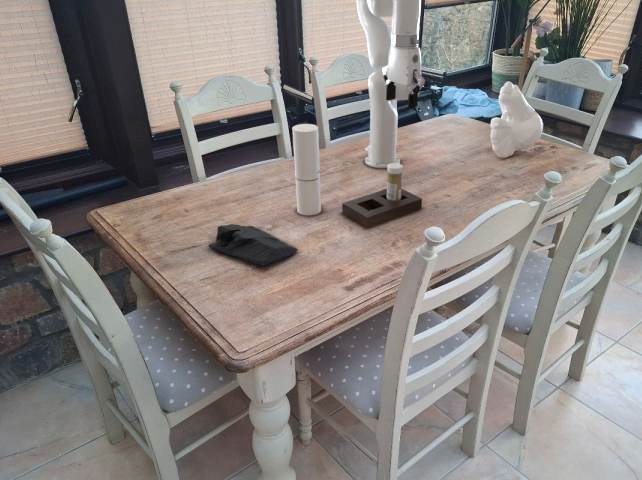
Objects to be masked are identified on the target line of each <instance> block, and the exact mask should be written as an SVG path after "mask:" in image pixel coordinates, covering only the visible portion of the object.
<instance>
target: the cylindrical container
mask: <svg viewBox="0 0 642 480" xmlns="http://www.w3.org/2000/svg"><path fill="white" fill-rule="evenodd" d="M291 129H292V146H293V160H294V163H293V164H294V179H295V180H294V181H295V193H296V196H295V197H296V208H297V209H296V210H297V213H298V214H299V215H303V216H316V215H318V214H320V213H321V212H322V199H321V198H322V197H321V169H320V166H321V165H320V147H319V146H320V141H319V140H320V139H319V126H318V125H316V124H312V123H299V124H296V125H294V126H293V125H292V128H291Z"/></svg>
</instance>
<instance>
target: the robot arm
mask: <svg viewBox="0 0 642 480" xmlns="http://www.w3.org/2000/svg"><path fill="white" fill-rule="evenodd" d="M421 8H422V0H356V10H357V15H358V16H357V17H358V19H359V22H360V24H361V27H362V28H363V31H364V33H365V38H366V46H367V53H368V54H367V55H368V60H369V64H370V67H371V69H372V70H373V72H372V73H371V74H370V75H369V76H368V79H367V88H368V96H369V117H370V118H369V119H370V120H369V144H368V145H367V147H365V148H364V151H365V152H366V153H367V156H366V157H365V158H364V163H365V164H366V165H367V166H369V167H372V168H375V169H387V166H388V165H389V164H391V163H399V164H401V158H400V157H398V155H397V142H398V141H397V139H398V121H399V120H398V119H399V118H398V117H399V116H398V115H399V114H398V111H397V108H395V106H394V104H392V101H405V100H407V109H414V108H417V107H418V102H419V101H418V100H419V95H420V93H421V91H422V90H423V87H424V85H425V83H426V79H425V77H424V76H423V75H422V55H421V48H420V46H419V44H420V39H419V37H420V23H421ZM385 17H386V18H387V17H391V28H390V26H389V25H388V24H387V22H386V21H385V20H384V19H383V18H385Z"/></svg>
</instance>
